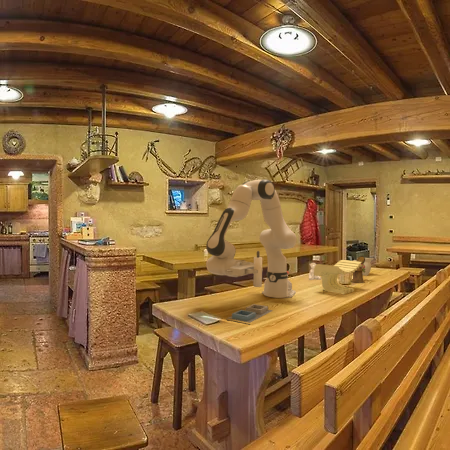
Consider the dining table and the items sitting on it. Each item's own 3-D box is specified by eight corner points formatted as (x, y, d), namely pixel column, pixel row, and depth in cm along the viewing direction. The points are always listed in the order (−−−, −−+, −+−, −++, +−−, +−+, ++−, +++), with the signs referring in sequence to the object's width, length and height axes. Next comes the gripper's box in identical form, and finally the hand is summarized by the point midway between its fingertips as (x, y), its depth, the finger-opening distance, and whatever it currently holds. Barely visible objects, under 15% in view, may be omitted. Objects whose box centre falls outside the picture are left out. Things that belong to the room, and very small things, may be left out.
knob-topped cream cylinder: (255, 284, 183) (256, 250, 182) (263, 285, 180) (263, 250, 180) (252, 286, 179) (252, 250, 178) (259, 287, 177) (260, 251, 176)
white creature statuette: (309, 280, 269) (309, 263, 268) (304, 278, 277) (305, 262, 277) (321, 279, 270) (321, 263, 270) (316, 277, 279) (316, 261, 278)
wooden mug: (367, 281, 268) (368, 256, 268) (360, 283, 258) (361, 258, 257) (355, 279, 274) (356, 255, 274) (348, 281, 264) (349, 256, 263)
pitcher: (354, 272, 306) (354, 255, 305) (376, 275, 293) (376, 258, 293) (348, 274, 298) (348, 256, 297) (370, 277, 285) (371, 259, 285)
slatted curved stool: (337, 285, 251) (338, 259, 250) (360, 289, 239) (361, 261, 239) (313, 291, 230) (314, 263, 229) (337, 296, 218) (337, 266, 218)
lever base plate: (251, 308, 188) (251, 302, 188) (273, 312, 182) (273, 306, 182) (226, 320, 168) (226, 313, 168) (249, 324, 161) (249, 318, 161)
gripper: (223, 264, 177) (249, 267, 170) (244, 259, 195) (268, 262, 187) (223, 277, 178) (249, 280, 170) (244, 271, 195) (268, 274, 188)
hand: (259, 270), depth 179 cm, fingers closed on knob-topped cream cylinder, 4 cm apart
